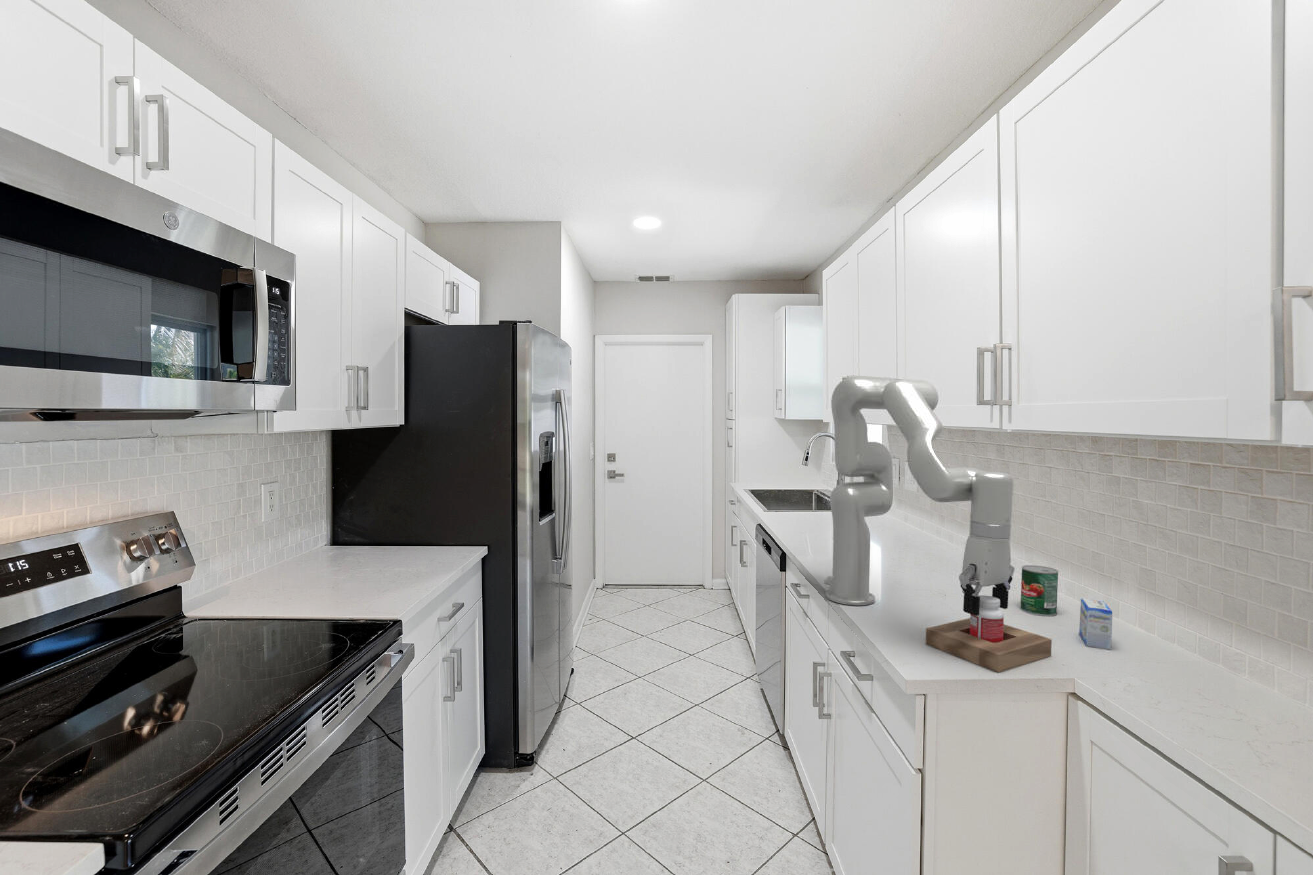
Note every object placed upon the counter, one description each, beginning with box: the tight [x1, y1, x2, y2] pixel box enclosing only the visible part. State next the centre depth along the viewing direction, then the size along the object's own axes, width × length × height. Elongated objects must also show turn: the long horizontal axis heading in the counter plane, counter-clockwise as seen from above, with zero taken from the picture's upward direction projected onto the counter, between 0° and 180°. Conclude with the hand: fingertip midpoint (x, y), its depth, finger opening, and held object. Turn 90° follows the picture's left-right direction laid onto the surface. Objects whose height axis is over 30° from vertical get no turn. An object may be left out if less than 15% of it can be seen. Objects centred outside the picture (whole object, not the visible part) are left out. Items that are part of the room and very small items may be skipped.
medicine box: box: [1078, 597, 1113, 650], centre depth 130 cm, size 8×4×9 cm, turn 154°
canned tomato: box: [1019, 564, 1059, 617], centre depth 151 cm, size 8×8×11 cm
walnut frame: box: [925, 617, 1053, 674], centre depth 125 cm, size 16×18×4 cm
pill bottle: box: [969, 594, 1005, 643], centre depth 125 cm, size 6×6×11 cm
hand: (985, 610), depth 125 cm, fingers open, 9 cm apart
